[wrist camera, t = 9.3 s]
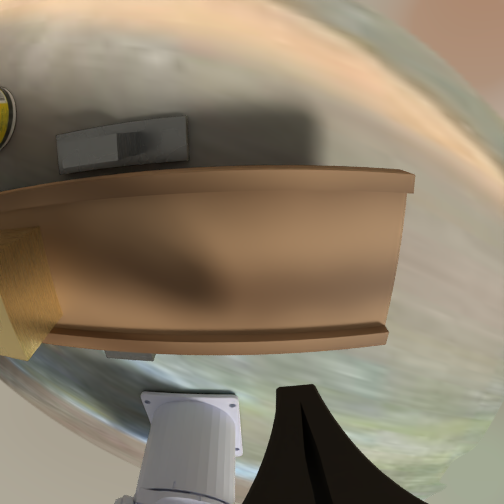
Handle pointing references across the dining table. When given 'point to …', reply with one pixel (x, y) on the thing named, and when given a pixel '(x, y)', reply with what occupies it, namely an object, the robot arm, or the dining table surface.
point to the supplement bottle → (6, 116)
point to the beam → (220, 257)
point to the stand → (124, 157)
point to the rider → (25, 293)
